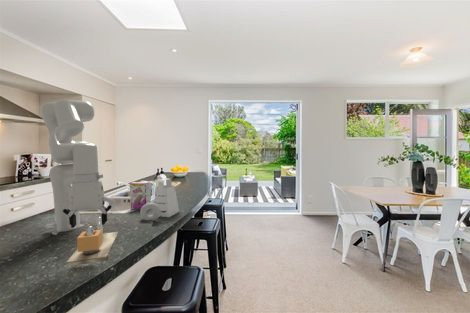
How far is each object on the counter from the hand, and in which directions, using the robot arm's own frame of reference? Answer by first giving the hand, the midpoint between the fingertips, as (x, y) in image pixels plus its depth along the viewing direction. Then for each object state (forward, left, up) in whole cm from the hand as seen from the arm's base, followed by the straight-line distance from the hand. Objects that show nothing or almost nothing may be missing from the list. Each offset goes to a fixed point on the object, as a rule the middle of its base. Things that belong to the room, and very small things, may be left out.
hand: (89, 225), depth 89 cm
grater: (+27, +45, -12) cm, 54 cm away
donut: (+19, +33, -12) cm, 40 cm away
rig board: (0, +6, -12) cm, 13 cm away
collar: (0, -1, -8) cm, 8 cm away
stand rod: (0, +13, -10) cm, 17 cm away
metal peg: (0, -1, -10) cm, 10 cm away
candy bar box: (+12, +63, -12) cm, 66 cm away
